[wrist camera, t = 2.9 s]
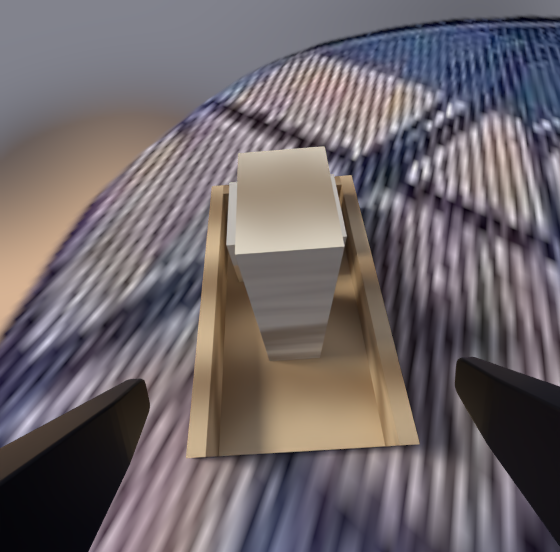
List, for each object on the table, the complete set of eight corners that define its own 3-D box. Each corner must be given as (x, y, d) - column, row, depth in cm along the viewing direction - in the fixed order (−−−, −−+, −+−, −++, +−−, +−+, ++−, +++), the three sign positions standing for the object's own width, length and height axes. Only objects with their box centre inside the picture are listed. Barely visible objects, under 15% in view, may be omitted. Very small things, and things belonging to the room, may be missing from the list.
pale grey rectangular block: (319, 357, 21) (344, 246, 9) (269, 361, 21) (234, 254, 9) (312, 293, 23) (324, 146, 12) (267, 296, 23) (238, 153, 12)
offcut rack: (413, 444, 19) (439, 442, 15) (191, 457, 19) (167, 459, 15) (355, 207, 29) (363, 174, 25) (212, 218, 29) (200, 187, 26)
